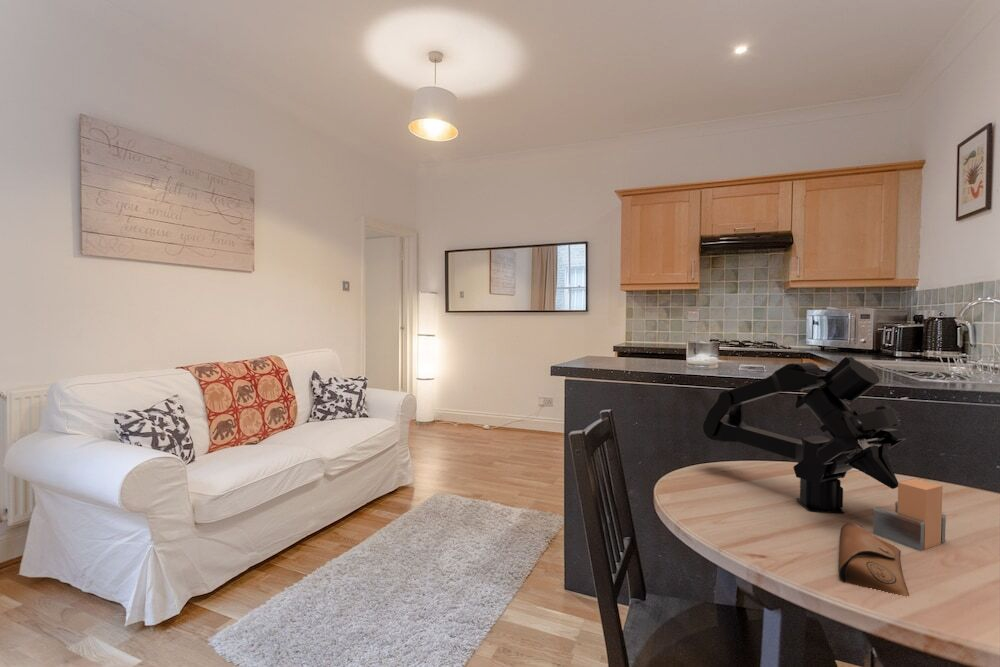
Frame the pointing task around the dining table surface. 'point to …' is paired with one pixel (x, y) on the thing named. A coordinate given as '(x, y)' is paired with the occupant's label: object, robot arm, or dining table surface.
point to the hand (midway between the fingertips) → (896, 487)
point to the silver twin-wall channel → (902, 528)
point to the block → (922, 507)
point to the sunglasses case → (870, 561)
